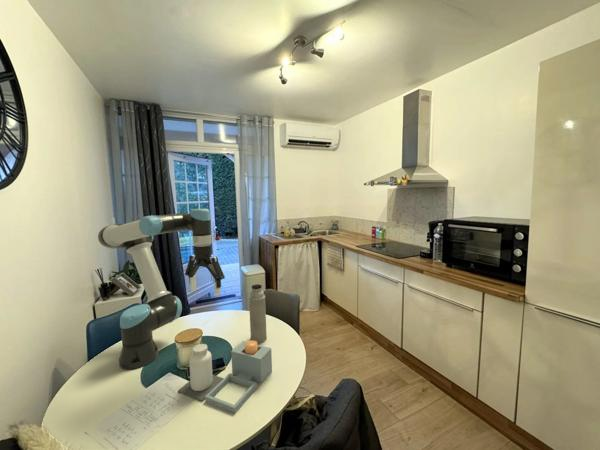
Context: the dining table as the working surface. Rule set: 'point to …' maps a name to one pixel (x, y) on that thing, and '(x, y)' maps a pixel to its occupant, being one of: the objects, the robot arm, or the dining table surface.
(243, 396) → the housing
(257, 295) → the thermos bottle
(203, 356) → the pill bottle
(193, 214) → the robot arm
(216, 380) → the mat
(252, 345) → the plunger
